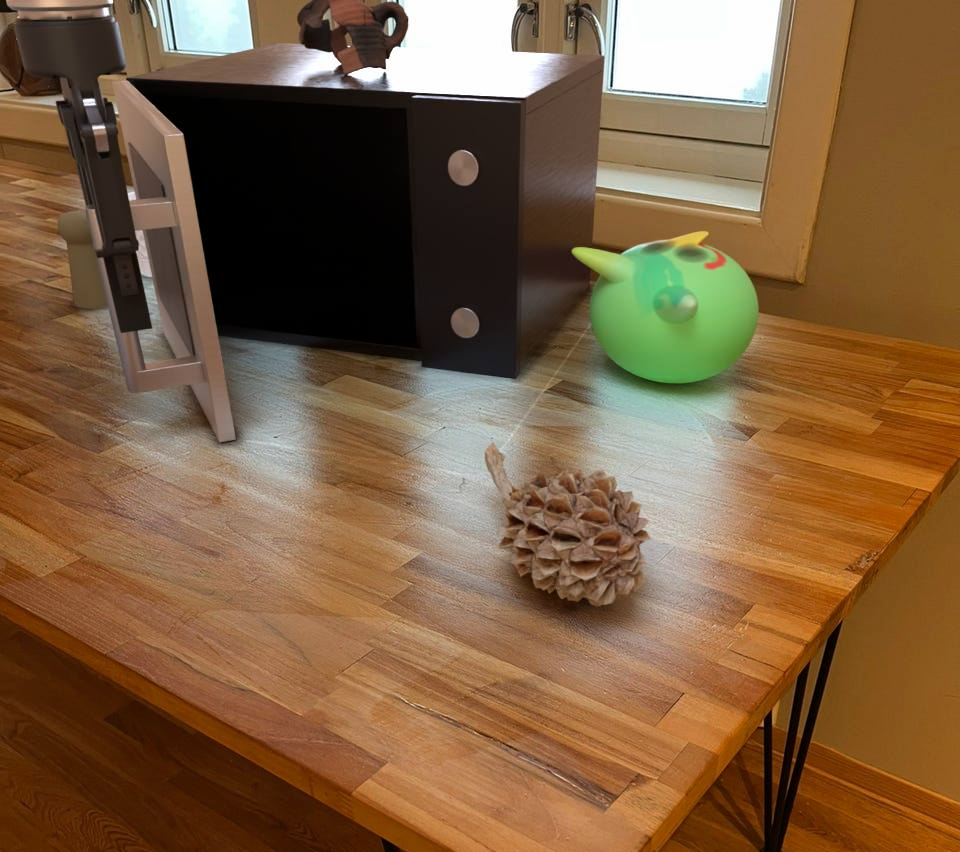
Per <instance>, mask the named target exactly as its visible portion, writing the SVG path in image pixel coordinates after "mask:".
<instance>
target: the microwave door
mask: <svg viewBox="0 0 960 852" xmlns="http://www.w3.org/2000/svg"><path fill="white" fill-rule="evenodd" d="M111 84H112V89H113V93H114V98H115V99H114V100H115V104H116V108H117V113H118V117H119V122H120V128H121V132H122V136H123V142H124V147H125V152H126V157H127V161H128V166H129V171H130V176H131V181H132V186H133V190H134V191H135V196H136V200H129V203H130V208H131V213H132V218H133V223H134V229H135V231H139V230H143V235H144V240H145V245H146V249H147V254H148V259H149V264H150V269H151V274H152V277H151V278H152V283H153V287H154V293H155V298H156V303H157V308H158V312H159V317H160V321H161V327H162V332H163V335H164V337H165V338H166V341H167V342H168V344H169V347H170V348H171V351H172V352H173V354H174V357H175V358H169V359H163V360H157V361H149V362H145V358H144V353H143V349H142V345H141V341H140V335H139V332H138V331H132V332H126V333H121V332H120V329H119V324H118V320H117V316H116V311H115V307H114V303H113V298H112V294H111V290H110V286H109V281H108V277H107V273H106V268H105V264H104V260H103V258H97V257H96V258H97V262H98V266H99V271H100V275H101V279H102V283H103V287H104V292H105V296H106V300H107V304H108V306H107V309H108V313H109V316H110V321H111V325H112V329H113V333H114V338H115V341H116V347H117V350H118V354H119V358H120V362H121V366H122V371H123V376H124V379H125V383H126V388H127V391H128V392H129V393H133V394H140V393H147V392H155V391H160V390H165V389H172V388H179V387H185V386H190V387H191V389H192V391H193V393H194V395H195V397H196V399H197V401H198V403H199V405H200V407H201V409H202V411H203V413H204V415H205V417H206V419H207V421H208V422H209V424H210V427H211V428H212V430H213V433H214V434H215V436H216V438H217V440H218V442H219V443H224V442H230V441H235V440H236V432H235V427H234V420H233V415H232V409H231V403H230V397H229V392H228V386H227V380H226V373H225V369H224V363H223V357H222V351H221V346H220V345H221V344H220V338H219V336H218V333H217V327H216V321H215V315H214V309H213V304H212V298H211V292H210V286H209V280H208V274H207V269H206V263H205V257H204V251H203V245H202V239H201V234H200V228H199V222H198V216H197V210H196V204H195V199H194V193H193V187H192V181H191V175H190V169H189V164H188V158H187V152H186V146H185V140H184V135H183V133H181V132H180V131H179V130H178V129H177V128H176V127H175V126H174V125H173V124H172V123H171V122H170V121H169V120H168V119H167V118H166V117H165V116H164V115H163V114H162V113H161V112H160V111H159V110H157V109H156V108H155V107H154V106H153V105H152V104H151V103H150V102H149V101H148V100H147V99H146V98H145V97H144V96H143V95H142V94H141V93H140V92H139V91H138V90H137V89H136V88H135V87H133V86H132V85H131V84H130V83H129V82H128V81H126V80H114V81H111ZM134 191H133V192H134ZM84 211H85V212H86V216H87V220H88V224H89V229H90V233H91V237H92V241H93V245H94V250H97V249H102V246H103V244H102V239H101V235H100V231H99V227H98V223H97V219H96V215H95V210H94V206H93V204H92V205H88V206H86V205H85V207H84Z"/></svg>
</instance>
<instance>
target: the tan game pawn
mask: <svg viewBox="0 0 960 852" xmlns="http://www.w3.org/2000/svg"><path fill="white" fill-rule="evenodd" d="M57 229H58V233H59V235H60V237H61V238H62V239H63V240H64V241H65V242H66V251H67V257H68V266H69V275H70V283H71V290H72V299H73V305H74V306H76V307H78V308H82V309H83V308H84V309H97V308H98V309H99V308H104V307H108V304H107V300H106V296H105V292H104V287H103V283H102V279H101V275H100V271H99V266H98V262H97V258H96V254H95V250H94V245H93V241H92V237H91V233H90V229H89V224H88V220H87V216H86V212H85V210H71V211H67V212H64V213H62V214H61V215H60V216H59V217H58V220H57Z"/></svg>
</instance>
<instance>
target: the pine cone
mask: <svg viewBox="0 0 960 852" xmlns="http://www.w3.org/2000/svg"><path fill="white" fill-rule="evenodd" d="M505 457H506V456H505V453H503V452H500V450H499V448H498V446H497V444H495V442H491V441H490V444H489V445H488V446H487V448H486V449H485V450H484V462H485V465H486V469H487V471H488V472H489V473H490V476H491V479H492V481H493V483H494V485H495V487H496V488H497V491H498V492H499V493H500V496H501V498H502V503H503V505H504V507H505V512H504V514H505V519H504V520H503V521H502V524H501V526H500V527H499V528H498V529H497V531H496V533H495V535H498V536H501V537H503V538H502V539H501V541H500V542H499V544H498V548H499V550H506V549H509V550H510V551H512V553H511V554H510V555H509V561H510V563H511V564H513V565H514V568H516V570H517V572H518V574H519V577H523V576H524V575H526V574H528V573H529V574H531V579H532V582H533V586H534V588H535V589H541V590H542V591H545V590H547V593H548V594H551V593H552V592H554V591H555V590H556V592H557V595H558V597H559V598H560V599H561V600H563V599H565V598H566V599H567V601H568V602H569V601H573V602H577V603H579V602H580V601H581V600H582V599H583V598H584V599H587V600H588V602H589V604H591V605H592V606H594V607H602V605H603V606H606V605H609V604H613V603H614V601H615V600H616V598H617V596H618V595H628V596H633V595H634V594H635V593H636V591H638V590H639V589H640V588H642V587H644V586H645V585H646V582H645V578H644V573H643V571H641V569H643V568H644V567H645V566H647V565H648V563H647V562H646V556H645V555H644V554H643V553H642V552H641V547H640V546H641V545H642V544H643V543H645V542H646V541H650V540H651V539H652V538H651V536H650V535H649V533H648V532H647V530H644V528H645V527H646V526H647V525H648V524H649V522H650V519H648V518H646V517H641V516H640V512H641V510H642V507H643V504H640V503H639V502H636V501H633V500H634V493H633V490H629V491H622V490H621V489H618V490H616V488H617V487H618V483H617V481H616V477H615V476H608V475H607V474H606V472H605V470H604V469H598V470H595V471H594V472H592V474H590V475H589V476H588V475H587V476H586V477H584V473H583V471H582V469H579V470H577V471H576V472H575V471H573V470H572V469H567V470H565V469H563V470H562V471H561V472H560V473H559V474H558V475H556V476H554V477H553V478H552V477H551V476H549V475H548V476H547V475H546V474H545V473H544V472H543V471H539V472H538V473H537V474H535V475H532V476H531V477H530V479H529V480H528V481H525V482H522V483H519V484H515V485H513V484H512V482H511V481H510V480H509V477H508V475H507V473H506V470H505V467H504V462H505V459H506V458H505Z"/></svg>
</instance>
